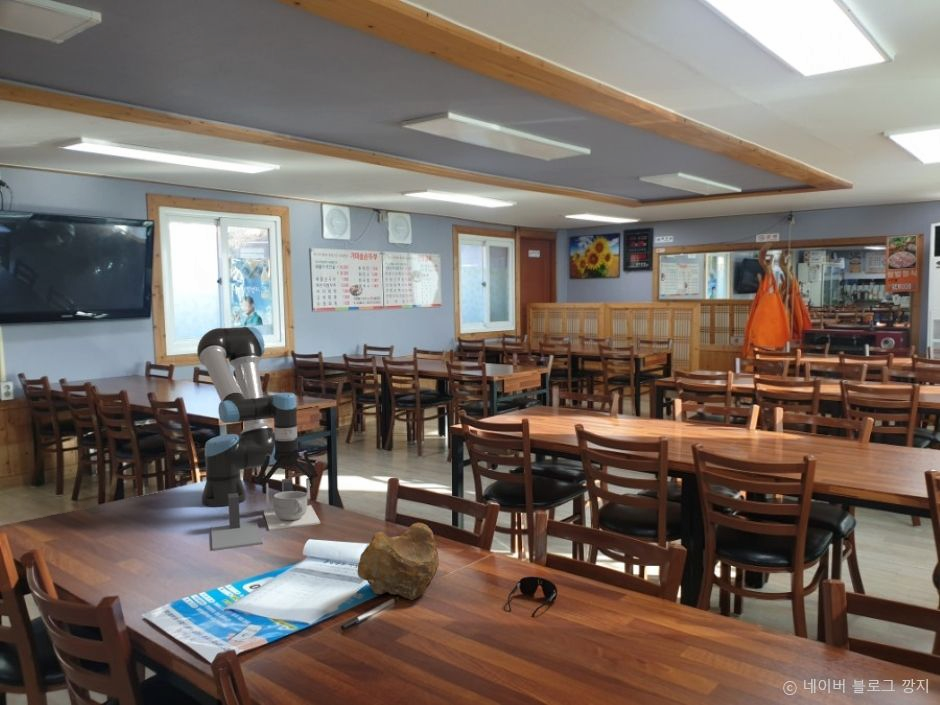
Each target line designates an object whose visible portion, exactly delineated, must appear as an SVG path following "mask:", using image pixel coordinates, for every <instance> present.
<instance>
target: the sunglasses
mask: <svg viewBox="0 0 940 705" xmlns="http://www.w3.org/2000/svg"><path fill="white" fill-rule="evenodd" d="M539 586H540V588H541V591H542V593H543V596H544V598H545V597H547V598H546V600H545V602H544V603H542V604H541V605H540V606H538V607H536V608H535V610H534V611H533V612H532V614H531V615H534V616H535V615H536V613H537V611H538V610H539V609H541V608H543V607H544V606H545V605H547V604H548V602H551V601H555V600H556V599H557V595H558V588H557V586H556V584H555V583H554V582H553V581H551V580H549V579H547V578H544V577H539V576H533V575H532V576H525V577H522V578H520V580H518V581H517V583H516V585H515V586H514V587H513V589H512V590H511V592H510V593H509V594H508V596H507V597H508V598H507V604H508V609H509V611H510V610H511V611H512V609H511V608H512V607H511V605H510V598H511V595H512V594H515V593H516V591H517V590H518V588H519V591H520V593H521V594H522V595H525V594H533V595H535V594H536V592H537V590H538V588H539ZM533 595H532V596H533Z"/></svg>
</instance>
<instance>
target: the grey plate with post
mask: <svg viewBox="0 0 940 705" xmlns="http://www.w3.org/2000/svg"><path fill="white" fill-rule="evenodd" d="M293 486H294V485H293V480H292V478H281V490H282V491H281V492H286V491H294V490H293V489H294V488H293ZM263 515H264V519H265V521H266V524H267V528H268V531H269V532H270V531H275V530H276V531H277V530H278V531H279V530H284V529H291V528H300V527H301V528H302V527H306V526H307V527H308V526H314V525H315V526H317V525H321V520H320V519H319V517H318V515H317V513H316V512H315V510H314V508H313V505H312V504H307V510H306V513H305V514H304V515H303V516H302V517H301V518H299V519H296V520H282V519H280V518H279V517H278V516H277V515H276V514H275V510H274V509H266V510H263Z"/></svg>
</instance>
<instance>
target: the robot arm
mask: <svg viewBox="0 0 940 705" xmlns="http://www.w3.org/2000/svg"><path fill="white" fill-rule="evenodd" d="M265 350H266V349H265V341H264V338H263V335H262V333H261V331H260V330H259V329H258V328H257V327H254V326H252V327H251V326H250V327H249V326H243V327H242V326H241V327H240V326H239V327H218V328H214V329H213V328H212V329H210V330H209V331H207V332H206V333H204V335H203V336H202V337H201V338H200V339H199V342H198V345H197V350H196V352H197V359H198V360H199V362H200V363H201V365H203V366H204V367H205V368H206V371H207V373H208V375H209V377H210V381H211V382H212V384H213V386H214V389H215V390H216V393H217V395H218V397H219V399H220V400H219V401H220V402H219V404H218V408H217V409H218V416H219V420H220V421H221V423H223V424H232V423H233V424H235V423H236V424H237V423H243V429H242V430H241V432H240V436H239V435H238V434H237V433H229V434H222V435H221V434H220V435H218V436H215V437H212V438H210V439H209V440H207V441H206V442H205V445H204V458H205V463H204V464H205V479H206V481H205V485H204V488H203V492H202V495H201V503H202V504H203V505H204V506H208V507H225V506H229V505H228V494H232V493H238V496H239V504H240V503H242V502H245V501H246V499H247V493H246V492H247V491H246V490H245V487H244V484H243V481H242V479H241V470H246V469H252V468H260V467H261V469H260V471H259V473H258V475H257V477H256V480H255V481H256V483H257V484H261V487H262V488H261V491H262V494H264V495H265V503H266V504H267V505H268V504H270V497H269V496H270V494H269V493H270V491H269V490H270V489H269V483H268V482H269V480H270V479H271V477H272V476H274V474H275V473H276V471H277V470H278V469H279V468H280V467H283V468H284V467H292V466H294V465H295V467H297V468H298V469H299V470H300V471H301V473H303V474H304V475H305V476H306V478H305V482H306V487H305V488H306V493H307V494H308V496H307V500H311V489H313V487H314V479H315V478H318V476H319V474H318V472H317V470H316V469H315V467H314V465H313V464H312V462H311V460H310V458H309V453H308V451H307V450H306V449H305V450H302V451H299V447H298V446H299V445H298V443H299V442H298V419H297V418H298V417H297V414H298V413H297V407H298V404H297V403H298V402H297V395H295V393H293V392H278V393H275V394H273V395H272V394H268V395H265V396H264V394H263V387H262V381H261V375H260V369H259V363H260V362H261V360H262V356H263V355H264V354H265ZM227 359H228V360H227ZM228 361H229V362H228ZM231 366H232V367H233V368H234V373H235V375H234V373H233V370H232V368H231ZM268 419H273V427H272V426H271V425H270V424H269V423H268ZM300 457H301V458H302V459H303V460H305V462H306V464H307V465H308V467H309V470H310V471H311V473H310V472H309V471H308V469H306V468H305V467H304V466H303V464H301V463H300V462H299V461H298V459H299V458H300ZM271 465H273V466H272V467H271V468H270V469H269V471H268V472H267V474H266V475H265V473H266V471H267V469H268V467H269V466H271ZM264 475H265V476H264ZM310 484H311V486H310Z"/></svg>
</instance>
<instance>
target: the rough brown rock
mask: <svg viewBox="0 0 940 705" xmlns="http://www.w3.org/2000/svg"><path fill="white" fill-rule="evenodd" d="M439 565H440V562H439V551H438V549H437V544H436V541H435V538H434V533H433V531H432V529H431V528H429V525H427V524H425V523H422V522H415V523H413V524H411V525H410V526H409V527H408V528H407V529H406V531H404V533H402V534H401V535H398V536H397V535H396V536H392V537H391V536H390V537H389V536H387V534H386V533H385V532H383V531H378V532H375V533H373V535H372V536H371V541H370V543H369V544H368V545H367V547H366V548H365V549H364V550H363V552H362V553H361V554H360V557H359V562H358V564H357V576H358V578H360V579H362V580H364V581H367V583H368V585H369V586H370V588H371V590H372V591H373V593H374V594H376V595H384V594H386V593H389V594H390V595H399V596H401V597H403V598H404V599H408V600H410V601H413V600H415V599H417V598H419V597H420V596H421V595H422V594H423V592H424V591H425V589H426V588H427V585H428V584H429V583H431V581H433V579H434V577H435V576H436V575H437V574H436V573H437V571H438V568H439Z"/></svg>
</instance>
